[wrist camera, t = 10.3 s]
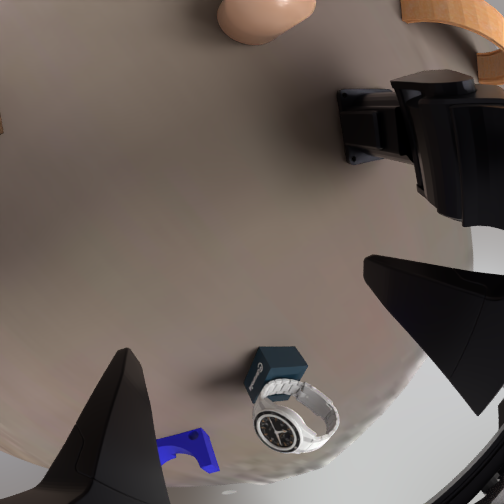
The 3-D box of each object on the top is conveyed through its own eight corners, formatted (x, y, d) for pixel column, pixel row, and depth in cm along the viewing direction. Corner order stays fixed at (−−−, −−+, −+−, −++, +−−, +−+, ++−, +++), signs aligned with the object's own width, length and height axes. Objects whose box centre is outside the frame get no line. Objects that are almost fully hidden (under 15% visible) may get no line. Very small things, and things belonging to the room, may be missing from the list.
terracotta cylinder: (274, -7, 14) (304, -34, 10) (288, 43, 16) (324, 24, 12) (211, -5, 13) (228, -38, 8) (224, 48, 15) (246, 24, 11)
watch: (241, 346, 26) (287, 439, 16) (308, 346, 29) (362, 418, 20) (226, 383, 27) (261, 469, 18) (289, 380, 31) (333, 450, 21)
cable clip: (139, 456, 30) (144, 489, 25) (123, 445, 28) (127, 480, 22) (212, 438, 32) (223, 473, 27) (200, 426, 30) (211, 464, 25)
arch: (397, -15, 15) (465, -32, 6) (478, 55, 22) (529, 59, 13) (401, 20, 17) (477, 9, 9) (480, 86, 24) (533, 94, 15)
